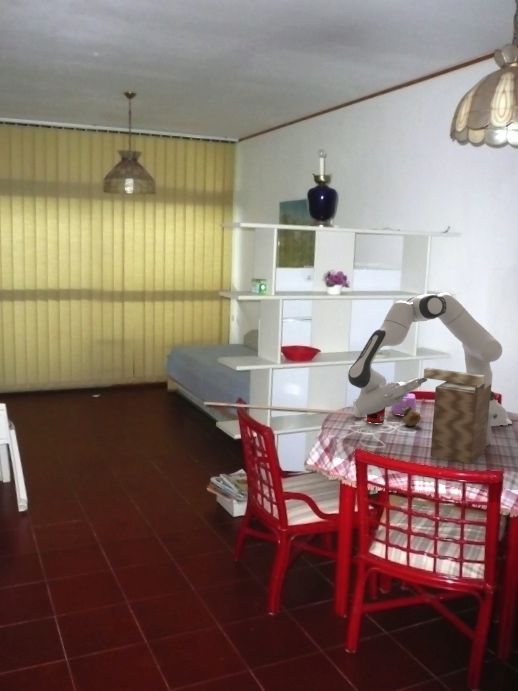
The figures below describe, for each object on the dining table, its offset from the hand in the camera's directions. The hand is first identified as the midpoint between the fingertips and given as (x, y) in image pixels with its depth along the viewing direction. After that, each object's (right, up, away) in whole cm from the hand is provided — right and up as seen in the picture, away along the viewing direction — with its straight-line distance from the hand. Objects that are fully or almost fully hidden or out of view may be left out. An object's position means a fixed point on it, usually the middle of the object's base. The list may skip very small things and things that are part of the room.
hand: (422, 380), depth 263 cm
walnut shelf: (+11, -27, -9) cm, 30 cm away
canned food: (-13, -20, +30) cm, 38 cm away
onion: (+1, -21, +26) cm, 33 cm away
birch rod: (+10, 0, -7) cm, 12 cm away
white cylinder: (-19, -18, +39) cm, 47 cm away
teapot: (+3, -18, +46) cm, 49 cm away
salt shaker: (+25, -25, +2) cm, 36 cm away
